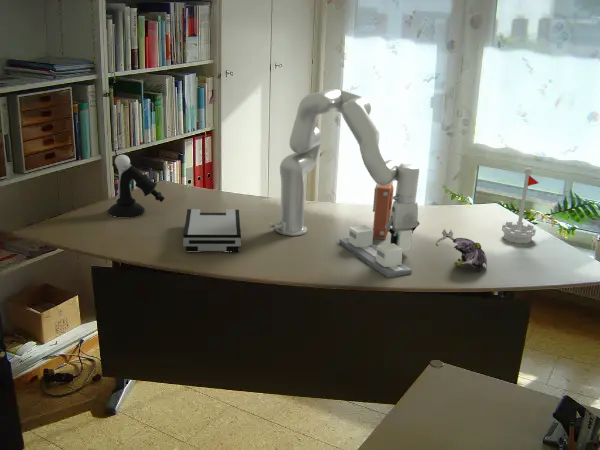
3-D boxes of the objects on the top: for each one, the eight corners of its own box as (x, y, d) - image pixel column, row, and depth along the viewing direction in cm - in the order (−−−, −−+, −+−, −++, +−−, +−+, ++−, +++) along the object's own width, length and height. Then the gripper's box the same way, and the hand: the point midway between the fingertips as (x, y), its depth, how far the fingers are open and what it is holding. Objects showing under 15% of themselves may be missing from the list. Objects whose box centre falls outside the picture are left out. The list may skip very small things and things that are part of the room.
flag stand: (495, 238, 283) (505, 167, 272) (510, 230, 292) (520, 161, 282) (524, 247, 274) (536, 174, 264) (539, 239, 284) (551, 168, 273)
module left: (355, 247, 261) (356, 232, 259) (347, 242, 266) (348, 227, 264) (372, 245, 264) (373, 230, 262) (364, 239, 269) (365, 225, 267)
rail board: (387, 277, 241) (387, 273, 240) (339, 242, 270) (339, 239, 270) (411, 273, 245) (411, 269, 244) (361, 239, 274) (361, 236, 274)
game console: (238, 225, 285) (238, 206, 282) (240, 255, 255) (240, 234, 252) (187, 225, 282) (187, 206, 279) (183, 255, 252) (183, 234, 250)
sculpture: (111, 206, 300) (108, 149, 291) (166, 207, 302) (165, 151, 293) (105, 217, 286) (101, 159, 277) (163, 218, 288) (161, 160, 279)
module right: (383, 267, 244) (385, 251, 242) (375, 261, 249) (376, 245, 247) (401, 264, 247) (402, 249, 245) (392, 258, 252) (393, 243, 250)
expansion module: (398, 251, 258) (400, 231, 256) (389, 245, 263) (391, 226, 261) (409, 250, 261) (412, 230, 258) (401, 244, 266) (403, 224, 263)
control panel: (390, 228, 288) (387, 240, 274) (373, 226, 289) (369, 238, 276) (394, 178, 281) (391, 189, 267) (377, 177, 282) (373, 187, 268)
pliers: (438, 246, 270) (428, 228, 288) (437, 248, 270) (428, 230, 289) (462, 247, 270) (451, 229, 289) (462, 249, 270) (451, 231, 289)
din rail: (394, 271, 242) (395, 270, 242) (347, 238, 271) (347, 237, 270) (403, 270, 243) (403, 269, 243) (355, 237, 272) (355, 236, 272)
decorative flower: (492, 253, 240) (454, 232, 245) (476, 282, 243) (439, 261, 248) (498, 250, 254) (461, 231, 259) (482, 278, 256) (446, 258, 261)
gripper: (391, 203, 248) (386, 249, 255) (430, 199, 256) (424, 244, 262) (380, 196, 255) (375, 242, 261) (418, 193, 262) (413, 237, 268)
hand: (400, 243), depth 261 cm, fingers closed on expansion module, 5 cm apart
